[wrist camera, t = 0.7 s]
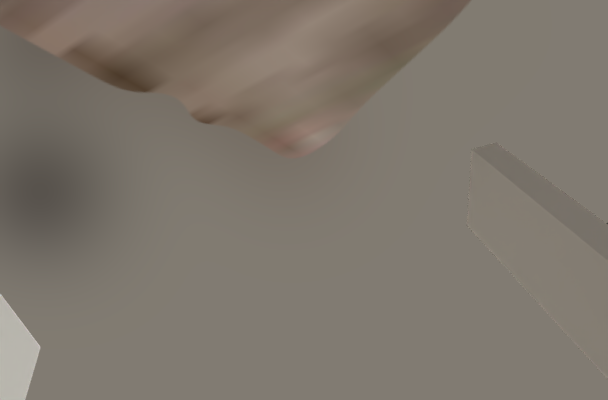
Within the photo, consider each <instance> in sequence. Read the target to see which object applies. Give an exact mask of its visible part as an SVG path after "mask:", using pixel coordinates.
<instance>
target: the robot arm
mask: <svg viewBox="0 0 608 400" xmlns="http://www.w3.org/2000/svg"><path fill="white" fill-rule="evenodd" d="M467 216H468V217H467V226H468V227H469V228H470V229H471V231H472V232H473V233H474V234H475V235H476V236H477V237H478V238H479V239H480V240H481V241H482V242H483V244H484V245H485V246H486V247H487V248H488V249H489V250H490V251H491V252H492V253H493V255H494V256H495V257H496V258H497V259H498V260H499V261H500V262H501V263H502V264H503V265H504V267H505V268H506V269H507V270H508V271H509V272H510V273H511V274H512V275H513V276H514V277H515V279H516V280H517V281H518V282H519V283H520V284H521V285H522V286H523V287H524V288H525V289H526V290H527V292H528V293H529V294H530V295H531V296H532V297H533V298H534V299H535V300H536V301H537V302H538V304H539V305H540V306H541V307H542V308H543V309H544V310H545V311H546V312H547V313H548V315H549V316H550V317H551V318H552V319H553V320H554V321H555V322H556V323H557V324H558V325H559V327H560V328H561V329H562V330H563V331H564V332H565V333H566V334H567V335H568V336H569V337H570V339H571V340H572V341H573V342H574V343H575V344H576V345H577V346H578V347H579V348H580V349H581V350H582V352H583V353H584V354H585V355H586V356H587V357H588V358H589V359H590V360H591V361H592V363H593V364H594V365H595V366H596V367H597V368H598V369H599V370H600V371H601V372H602V373H603V374H604V376H605V377H606V378H607V379H608V223H605V222H604V221H602V220H601V219H600V218H598V217H597V216H596V215H594V214H593V213H592V212H590V211H589V210H588V209H586V208H585V207H583V206H582V205H581V204H579V203H578V202H577V201H575V200H574V199H573V198H571V197H570V196H568V195H567V194H566V193H564V192H563V191H562V190H560V189H559V188H558V187H556V186H555V185H554V184H552V183H551V182H549V181H548V180H547V179H545V178H544V177H543V176H541V175H540V174H538V173H537V172H536V171H535V170H533V169H532V168H530V167H529V166H528V165H526V164H525V163H524V162H522V161H521V160H519V159H518V158H517V157H516V156H514V155H513V154H511V153H510V152H509V151H507V150H506V149H505V148H503V147H502V146H501V145H499V144H498V143H493V144H489V145H486V146H482V147H478V148H474V149H472V153H471V168H470V184H469V199H468V215H467ZM39 351H40V346H39V344H38V343H37V342H36V340H35V339H34V338H33V336H32V335H31V334H30V332H29V331H28V330H27V328H26V327H25V326H24V324H23V323H22V322H21V320H20V319H19V318H18V316H17V315H16V314H15V312H14V311H13V310H12V308H11V307H10V306H9V304H8V303H7V302H6V300H5V299H4V298H3V297H2V295H1V294H0V400H25V398H26V395H27V392H28V388H29V385H30V381H31V378H32V375H33V371H34V368H35V364H36V361H37V358H38V354H39Z"/></svg>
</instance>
